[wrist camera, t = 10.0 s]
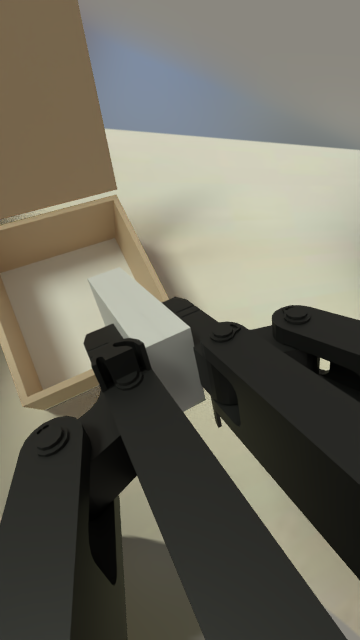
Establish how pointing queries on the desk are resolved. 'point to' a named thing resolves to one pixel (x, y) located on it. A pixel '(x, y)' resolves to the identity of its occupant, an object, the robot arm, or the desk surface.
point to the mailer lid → (48, 109)
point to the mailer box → (61, 294)
